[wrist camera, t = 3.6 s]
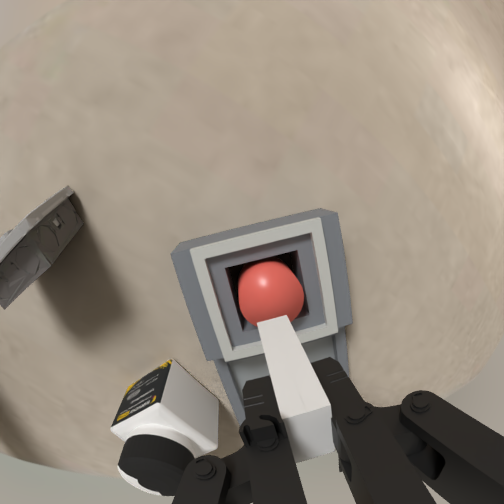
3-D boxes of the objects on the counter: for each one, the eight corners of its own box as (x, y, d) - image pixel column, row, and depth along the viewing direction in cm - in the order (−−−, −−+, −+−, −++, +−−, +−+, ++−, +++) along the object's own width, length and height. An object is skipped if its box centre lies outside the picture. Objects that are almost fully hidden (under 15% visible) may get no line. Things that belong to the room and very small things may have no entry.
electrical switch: (72, 182, 21) (10, 197, 13) (100, 230, 23) (49, 266, 14) (17, 236, 22) (-40, 267, 13) (41, 277, 23) (-8, 321, 15)
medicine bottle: (172, 356, 26) (145, 450, 14) (220, 399, 27) (219, 493, 15) (127, 385, 26) (92, 469, 14) (173, 424, 28) (159, 508, 16)
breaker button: (245, 313, 23) (247, 335, 20) (231, 263, 22) (231, 278, 19) (297, 299, 23) (308, 319, 20) (286, 249, 22) (297, 261, 19)
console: (242, 422, 28) (244, 451, 24) (179, 242, 23) (168, 255, 19) (345, 395, 28) (359, 421, 24) (320, 208, 23) (340, 213, 19)
